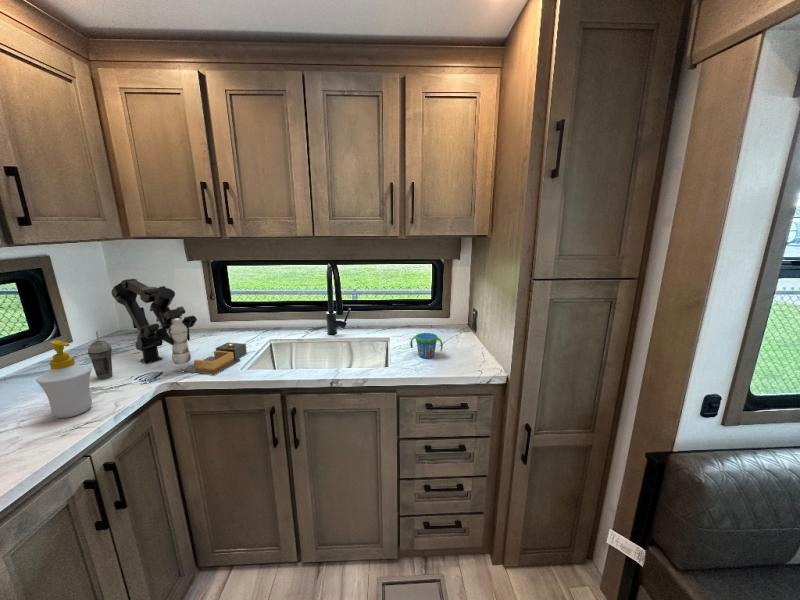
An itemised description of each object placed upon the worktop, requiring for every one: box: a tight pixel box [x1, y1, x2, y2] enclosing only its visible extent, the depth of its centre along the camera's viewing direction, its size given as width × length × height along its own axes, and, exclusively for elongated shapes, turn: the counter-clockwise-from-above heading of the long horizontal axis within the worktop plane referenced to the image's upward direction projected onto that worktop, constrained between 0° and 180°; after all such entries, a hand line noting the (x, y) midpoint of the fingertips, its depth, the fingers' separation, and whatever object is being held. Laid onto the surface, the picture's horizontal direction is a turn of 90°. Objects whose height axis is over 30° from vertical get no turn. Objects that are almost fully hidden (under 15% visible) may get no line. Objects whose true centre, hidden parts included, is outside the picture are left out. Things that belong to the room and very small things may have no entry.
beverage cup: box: [87, 330, 113, 381], centre depth 132 cm, size 7×7×20 cm
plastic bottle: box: [167, 316, 192, 365], centre depth 136 cm, size 6×7×20 cm
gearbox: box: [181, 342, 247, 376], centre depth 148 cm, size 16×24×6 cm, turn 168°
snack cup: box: [409, 332, 444, 359], centre depth 157 cm, size 16×10×10 cm
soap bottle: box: [35, 339, 93, 419], centre depth 106 cm, size 13×13×25 cm
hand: (181, 342), depth 136 cm, fingers closed on plastic bottle, 6 cm apart
